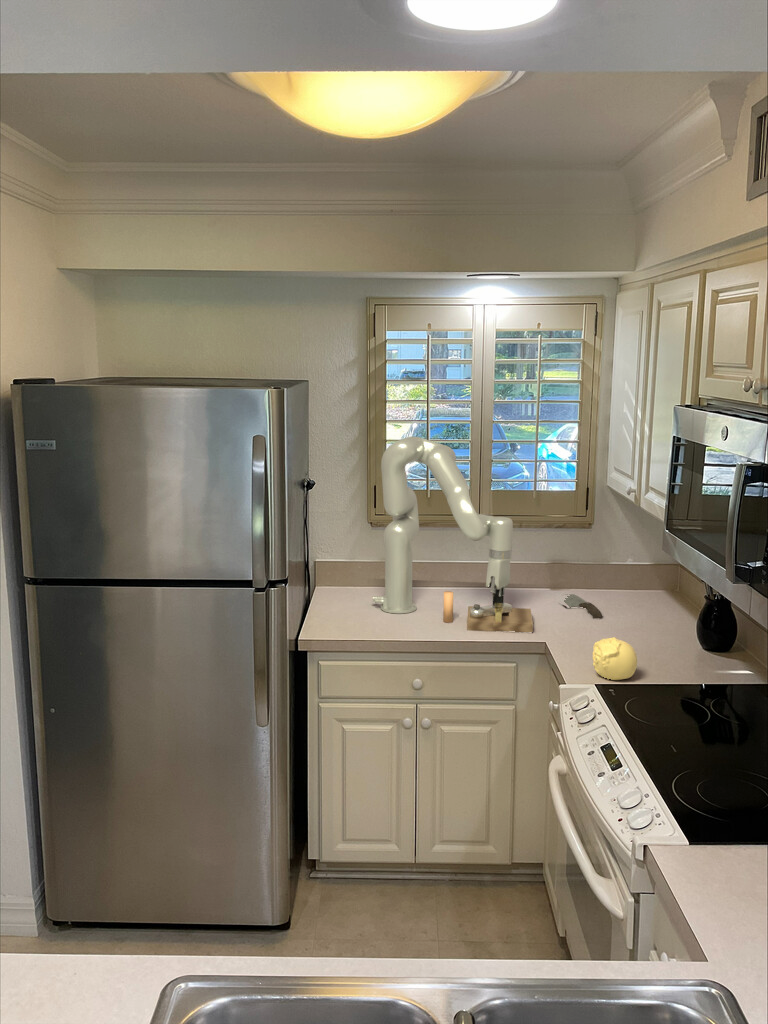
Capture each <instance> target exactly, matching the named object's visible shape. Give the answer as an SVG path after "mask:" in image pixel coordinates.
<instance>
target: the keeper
mask: <svg viewBox="0 0 768 1024" xmlns="http://www.w3.org/2000/svg"><path fill="white" fill-rule="evenodd" d="M501 619H502V603H495V622H501Z"/></svg>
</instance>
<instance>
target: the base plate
mask: <svg viewBox="0 0 768 1024" xmlns="http://www.w3.org/2000/svg"><path fill="white" fill-rule="evenodd" d="M472 607H474V609H480V607H481V605H480V604H478V603H477V604H473V605H472V606H471V605H470V606H468V608H467V616H466V617H467V618H466V631H474V632H475V631H477V632H478V631H479V632H496V631H515V632H514V633H519V632H533V631H534V630H533V629H534V622H533V617H532V616H533V615H532V608H523V607H522V608H521V607H520V608H519V607H511V612H507V613H502V619H501V622H495V615H490V616H484V617H482V618H473V617H470V608H472Z"/></svg>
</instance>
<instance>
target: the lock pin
mask: <svg viewBox="0 0 768 1024" xmlns="http://www.w3.org/2000/svg"><path fill="white" fill-rule="evenodd" d="M442 613H443V615H442V616H443V617H442V618H443V619H442V620H443V621H442V622H443V623H447V624H450V623H451V624H452V623H453V622H454V592H453V591H452V590H451V591H450V590H447V591H443V612H442Z"/></svg>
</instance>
